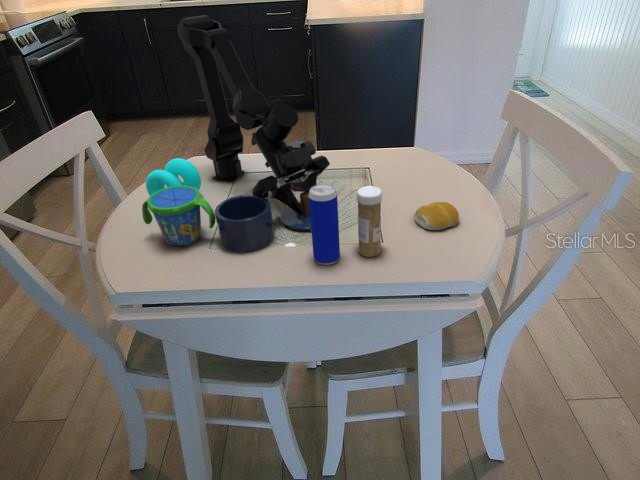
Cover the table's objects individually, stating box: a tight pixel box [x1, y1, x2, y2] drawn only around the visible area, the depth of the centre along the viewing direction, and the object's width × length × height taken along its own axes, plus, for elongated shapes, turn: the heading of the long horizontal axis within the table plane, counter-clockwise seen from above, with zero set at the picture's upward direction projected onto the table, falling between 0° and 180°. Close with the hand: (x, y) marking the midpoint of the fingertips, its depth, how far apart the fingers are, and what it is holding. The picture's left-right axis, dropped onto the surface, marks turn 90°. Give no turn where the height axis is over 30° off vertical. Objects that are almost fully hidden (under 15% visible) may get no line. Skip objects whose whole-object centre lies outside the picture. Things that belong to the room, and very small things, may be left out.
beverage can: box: [309, 183, 341, 266], centre depth 86 cm, size 5×5×15 cm
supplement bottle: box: [289, 140, 309, 191], centre depth 114 cm, size 6×6×11 cm
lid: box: [279, 191, 311, 231], centre depth 102 cm, size 12×12×6 cm
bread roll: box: [414, 201, 460, 231], centre depth 98 cm, size 8×9×4 cm
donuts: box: [145, 157, 202, 197], centre depth 112 cm, size 10×10×10 cm
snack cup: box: [141, 186, 216, 247], centre depth 97 cm, size 16×10×10 cm
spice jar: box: [356, 185, 383, 258], centre depth 87 cm, size 5×5×14 cm
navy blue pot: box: [214, 194, 275, 254], centre depth 96 cm, size 11×11×7 cm
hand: (311, 210), depth 101 cm, fingers open, 4 cm apart
